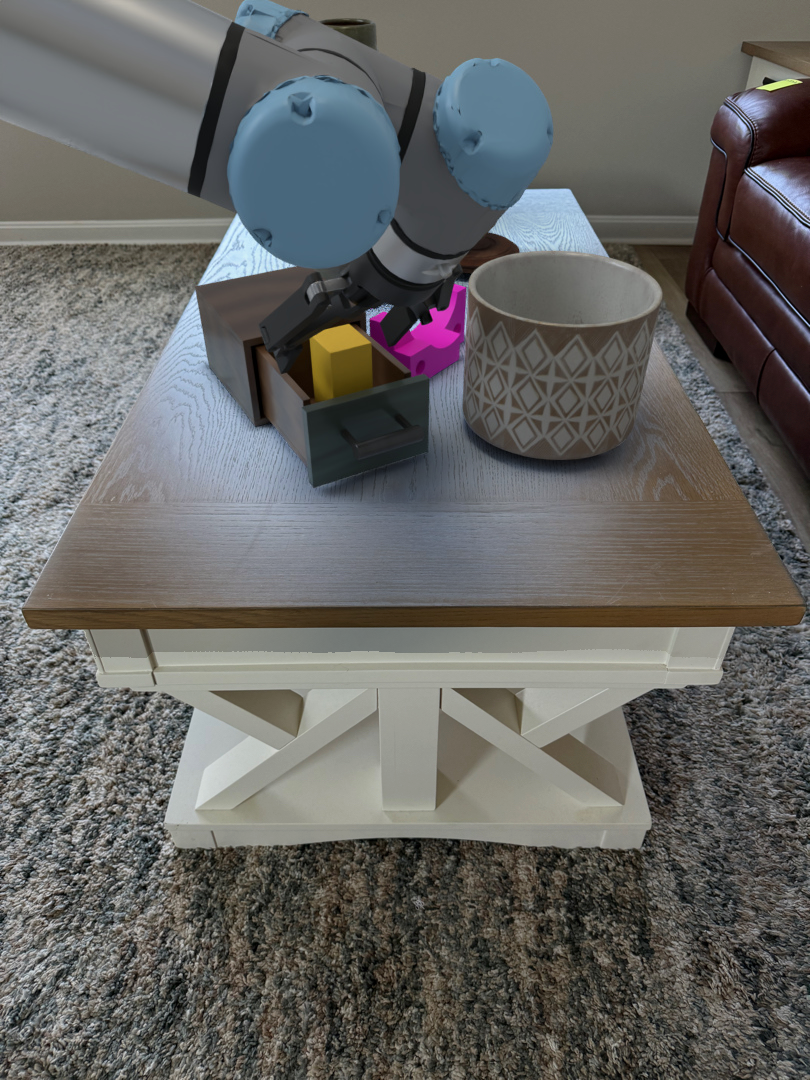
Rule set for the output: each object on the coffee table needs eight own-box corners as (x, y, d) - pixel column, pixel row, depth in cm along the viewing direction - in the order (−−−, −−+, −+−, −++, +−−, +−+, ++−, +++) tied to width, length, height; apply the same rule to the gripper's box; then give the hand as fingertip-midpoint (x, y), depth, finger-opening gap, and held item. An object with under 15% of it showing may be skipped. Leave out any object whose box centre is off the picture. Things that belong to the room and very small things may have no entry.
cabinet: (369, 395, 95) (366, 312, 88) (255, 426, 89) (242, 340, 83) (313, 341, 106) (306, 263, 99) (208, 366, 101) (194, 286, 94)
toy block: (410, 390, 96) (410, 333, 91) (371, 375, 99) (369, 318, 94) (479, 346, 105) (482, 292, 100) (441, 333, 108) (443, 280, 103)
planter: (666, 451, 85) (703, 307, 75) (507, 488, 80) (522, 339, 70) (576, 372, 99) (597, 241, 89) (435, 399, 94) (439, 263, 84)
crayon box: (336, 449, 82) (330, 353, 75) (316, 427, 86) (308, 333, 79) (374, 437, 84) (371, 342, 77) (353, 416, 87) (349, 323, 80)
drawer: (449, 473, 81) (453, 398, 75) (331, 512, 76) (325, 434, 70) (363, 389, 94) (360, 320, 89) (258, 417, 89) (248, 346, 84)
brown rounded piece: (505, 288, 120) (516, 145, 107) (414, 275, 124) (414, 136, 111) (527, 254, 130) (541, 121, 117) (443, 244, 134) (447, 113, 121)
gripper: (283, 319, 55) (236, 411, 75) (554, 259, 64) (447, 355, 84) (247, 219, 55) (209, 337, 75) (522, 173, 64) (423, 289, 84)
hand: (334, 347), depth 80 cm, fingers open, 11 cm apart
